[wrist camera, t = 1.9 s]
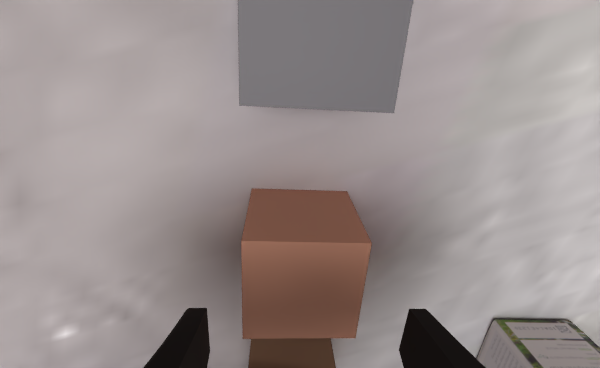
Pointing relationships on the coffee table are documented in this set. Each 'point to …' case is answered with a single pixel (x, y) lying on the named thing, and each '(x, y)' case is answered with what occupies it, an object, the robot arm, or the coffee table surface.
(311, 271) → the terracotta cube
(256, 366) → the walnut cube
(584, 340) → the syrup box
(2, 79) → the coffee table surface
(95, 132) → the coffee table surface
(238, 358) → the coffee table surface
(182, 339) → the robot arm
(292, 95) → the charcoal grey cube
